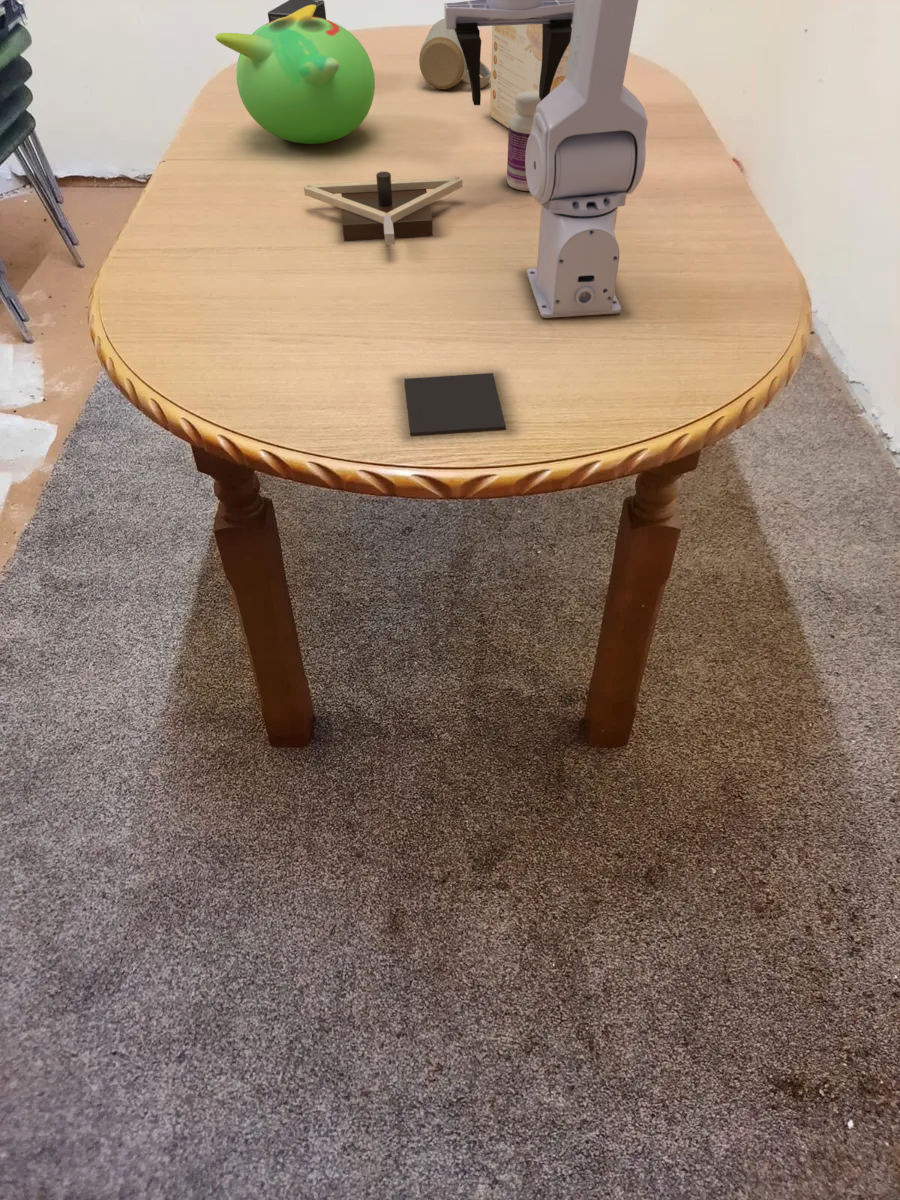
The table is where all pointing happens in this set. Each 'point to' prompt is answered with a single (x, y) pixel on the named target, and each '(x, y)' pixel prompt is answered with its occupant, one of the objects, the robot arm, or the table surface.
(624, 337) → the table surface
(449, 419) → the mat
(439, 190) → the hanger
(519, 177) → the pill bottle
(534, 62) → the coffeecake box
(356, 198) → the block
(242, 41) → the toy bird
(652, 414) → the table surface
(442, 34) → the ceramic mug
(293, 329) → the table surface
